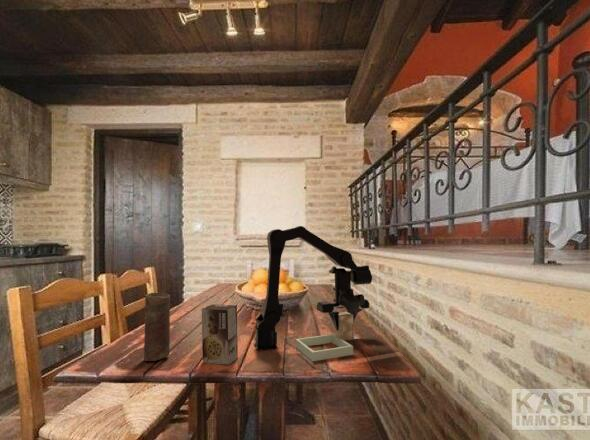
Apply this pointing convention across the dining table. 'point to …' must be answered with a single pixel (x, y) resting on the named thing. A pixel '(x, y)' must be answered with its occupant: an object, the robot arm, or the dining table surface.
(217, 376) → the dining table surface
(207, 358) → the coffee box
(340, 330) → the tan rectangular block
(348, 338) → the stud block
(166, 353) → the candle
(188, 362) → the dining table surface
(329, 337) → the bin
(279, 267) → the robot arm
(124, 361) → the dining table surface
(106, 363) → the dining table surface
